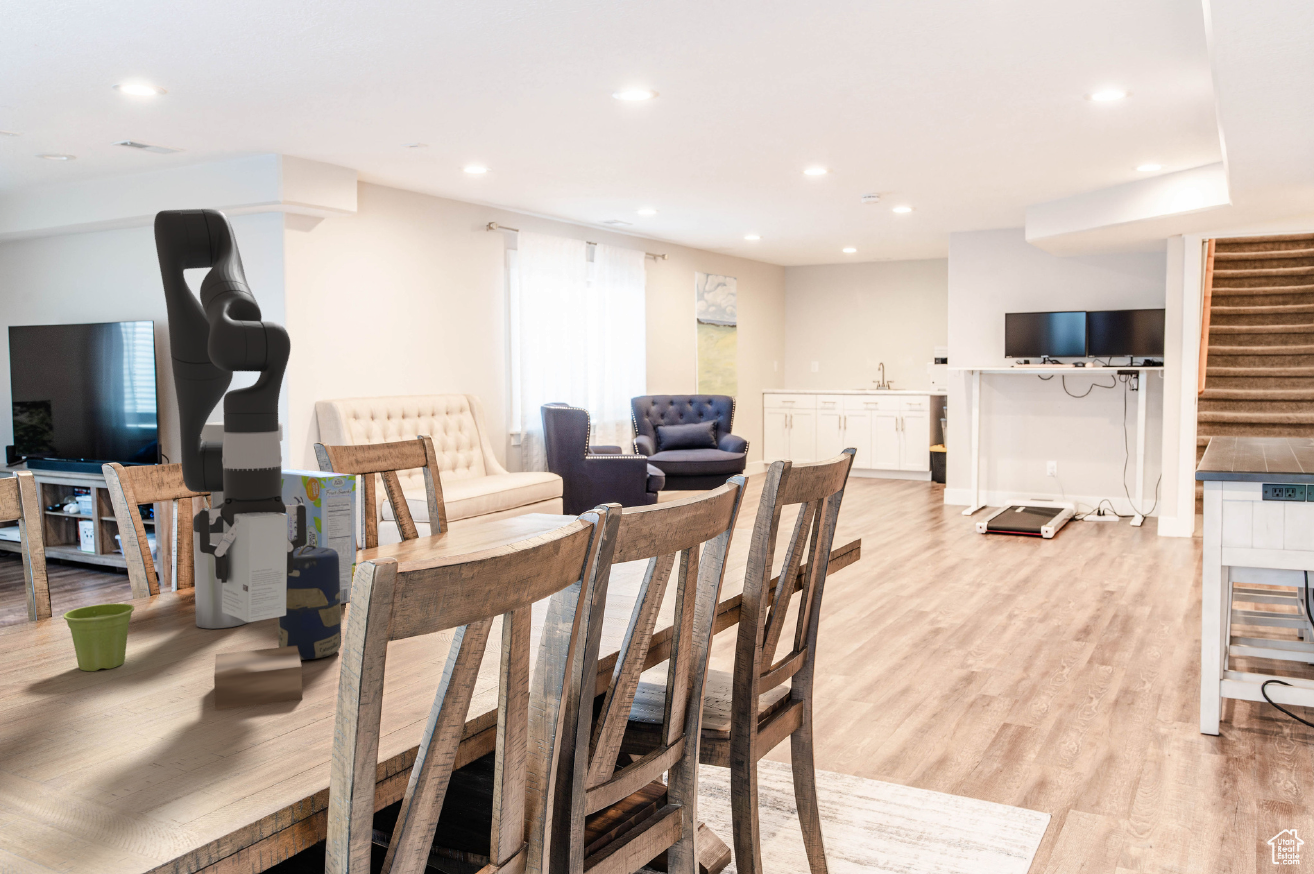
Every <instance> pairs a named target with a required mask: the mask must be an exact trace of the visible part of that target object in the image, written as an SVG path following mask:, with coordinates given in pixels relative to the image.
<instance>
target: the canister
mask: <svg viewBox="0 0 1314 874" xmlns="http://www.w3.org/2000/svg"><path fill="white" fill-rule="evenodd" d="M293 561H294V570H293V573H289V578H287V586H286V615H285V616H281V617H277V632H278V648H279V647H288V646H297V647H298V652H299V656H300V661H303V660H313V659H314V660H315V659H321V658H325V657H328V656H331V655H334V654H335V653H337V652H338V651H339V650H340V648H341V645H342V624H341V623H342V607H341V606H342V604H341V600H340V599H341V597H340V571H339V555H338V553H337V552H336V551H335V550H334V549H331V548H324V547H316V546H314V545H306V546H305V547H303V548H297V549H295V550H294V552H293Z"/></svg>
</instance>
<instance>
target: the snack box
mask: <svg viewBox="0 0 1314 874" xmlns="http://www.w3.org/2000/svg"><path fill="white" fill-rule="evenodd" d="M281 473H282V501H283V503H284V504H285V505H297V504H298V503H303V504H304V505H305V507H306V534H307V543H306V545H314V546H316V547H324V548H331V549H334V550H335V551H336V552H337V553H338V555H339V571H340V597H341V599H340V600H341V605H345V604H351V603H350V595H351V588H352V582H353V576H354V572H355V566H356V567H357V509H356V508H357V506H356V505H357V504H356V503H357V500H356V499H357V496H356V495H357V490H356V489H357V475H356V474H348V473H340V472H333V471H332V472H331V471H330V472H329V471H323V470H322V471H321V470H308V469H294V468H293V469H281ZM285 514H286V515H288V530H287V537H288V538H289V540H292V539H295V538H297V529H296V520H293V519H292V518H291V516H290V514H289V513H285ZM306 545H305V546H306ZM305 546H301V547H299V548H303V547H305ZM296 549H297V548H296Z"/></svg>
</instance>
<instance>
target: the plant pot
mask: <svg viewBox="0 0 1314 874" xmlns="http://www.w3.org/2000/svg"><path fill="white" fill-rule="evenodd" d="M134 610H135V606H134V604H133V605H132V604H127V603H103V604H95V605H89V606H88V605H87V606H83V607H78V608H75V609H72V610H71V609H70V610H69V611H67V612H65V613H64V614H63V616H62V617H63V619H64V620H65V621H66V623H67V626H68V628H69V630H70V633H71V637H72V641H73V646H74V650H75V655H76V661H77V665H78V668H79V669H80V670H81V671H84V672H85V671H86V672H95V671H98V670H100V669H106V670H110V669H114V668H116V667H120V666H122V665H123V664H124V663H125V660H126V652H127V651H126V649H127V641H128V632H129V626H130V620H131V619H132V612H134Z"/></svg>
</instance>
